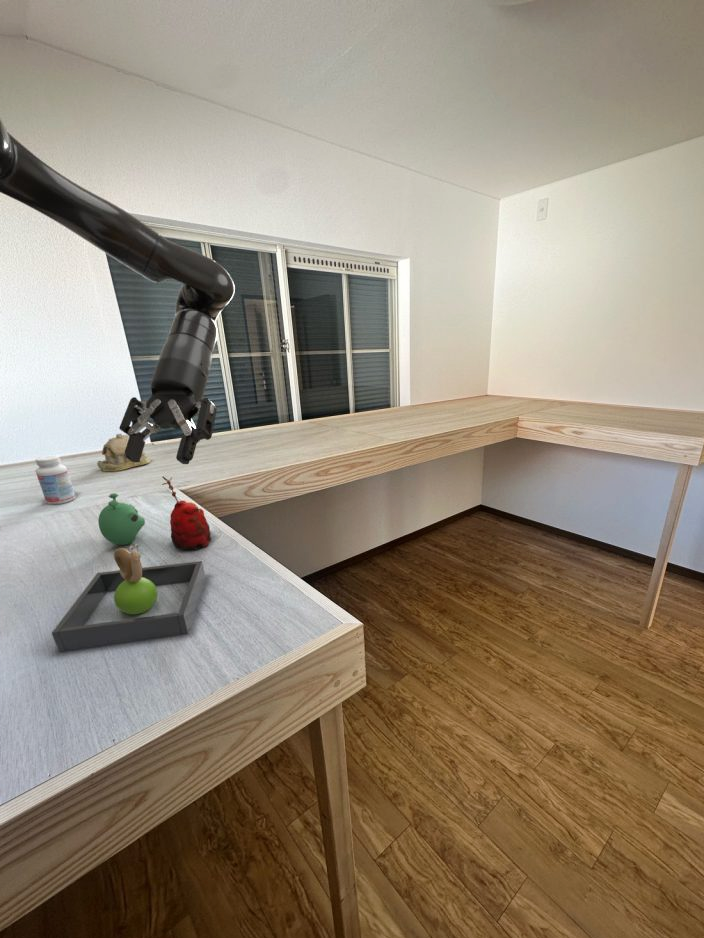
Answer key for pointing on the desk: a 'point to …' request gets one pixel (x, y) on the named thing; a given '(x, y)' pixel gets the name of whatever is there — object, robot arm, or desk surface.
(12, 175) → the robot arm
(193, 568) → the grey open frame
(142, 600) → the snail figurine
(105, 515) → the alien toy
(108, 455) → the ceramic model
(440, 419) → the desk surface
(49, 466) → the pill bottle
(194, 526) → the red bumpy rounded piece
